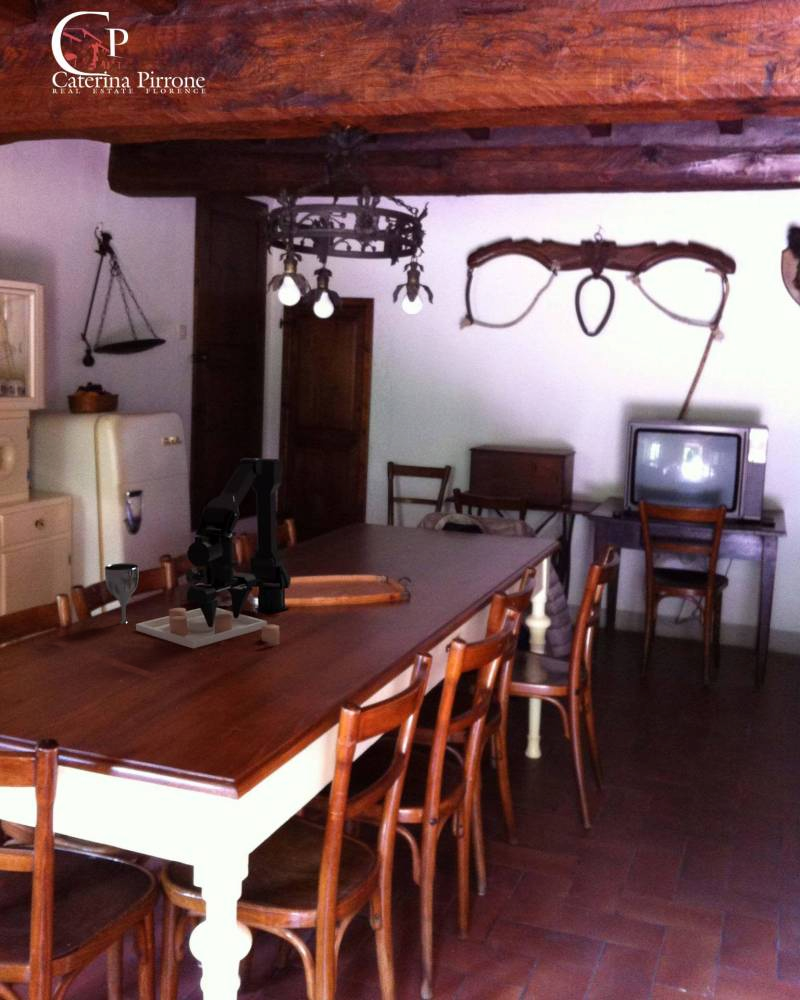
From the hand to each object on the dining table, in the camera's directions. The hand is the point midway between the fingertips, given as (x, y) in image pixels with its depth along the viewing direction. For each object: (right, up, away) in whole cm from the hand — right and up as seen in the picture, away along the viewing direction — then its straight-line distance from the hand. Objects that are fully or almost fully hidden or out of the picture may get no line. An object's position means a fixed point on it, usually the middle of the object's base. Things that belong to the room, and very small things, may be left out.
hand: (223, 622), depth 237 cm
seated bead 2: (-10, -3, -1) cm, 11 cm away
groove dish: (-6, -3, +4) cm, 8 cm away
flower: (-6, +1, +31) cm, 31 cm away
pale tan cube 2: (+12, -4, -5) cm, 13 cm away
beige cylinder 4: (-12, -2, +6) cm, 14 cm away
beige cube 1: (0, -3, 0) cm, 2 cm away
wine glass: (-26, -2, +10) cm, 28 cm away
